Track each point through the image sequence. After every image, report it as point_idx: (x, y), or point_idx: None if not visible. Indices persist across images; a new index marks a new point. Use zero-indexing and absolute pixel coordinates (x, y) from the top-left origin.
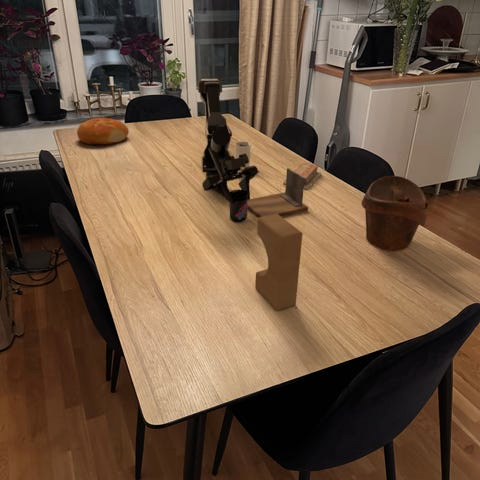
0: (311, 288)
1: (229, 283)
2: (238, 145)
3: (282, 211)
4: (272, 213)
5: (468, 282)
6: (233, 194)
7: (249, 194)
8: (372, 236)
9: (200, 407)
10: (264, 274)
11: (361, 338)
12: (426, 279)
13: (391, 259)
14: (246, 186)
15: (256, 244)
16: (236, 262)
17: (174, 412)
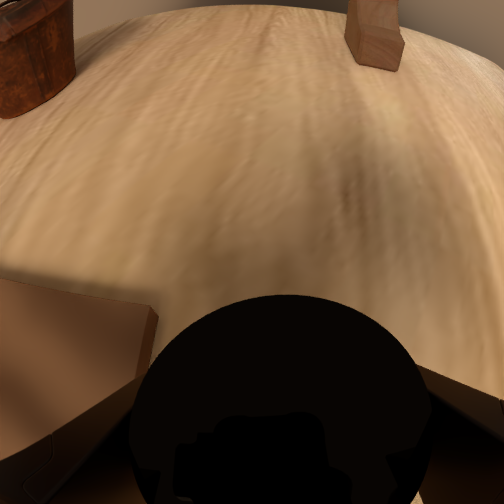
0: (294, 40)
1: (443, 100)
2: None
3: (23, 295)
4: (70, 309)
5: (97, 31)
6: (394, 427)
7: (119, 392)
8: (66, 63)
9: (467, 50)
10: (397, 20)
11: (297, 10)
12: (123, 32)
13: (99, 57)
14: (70, 465)
15: (324, 159)
16: (420, 129)
17: (484, 59)
